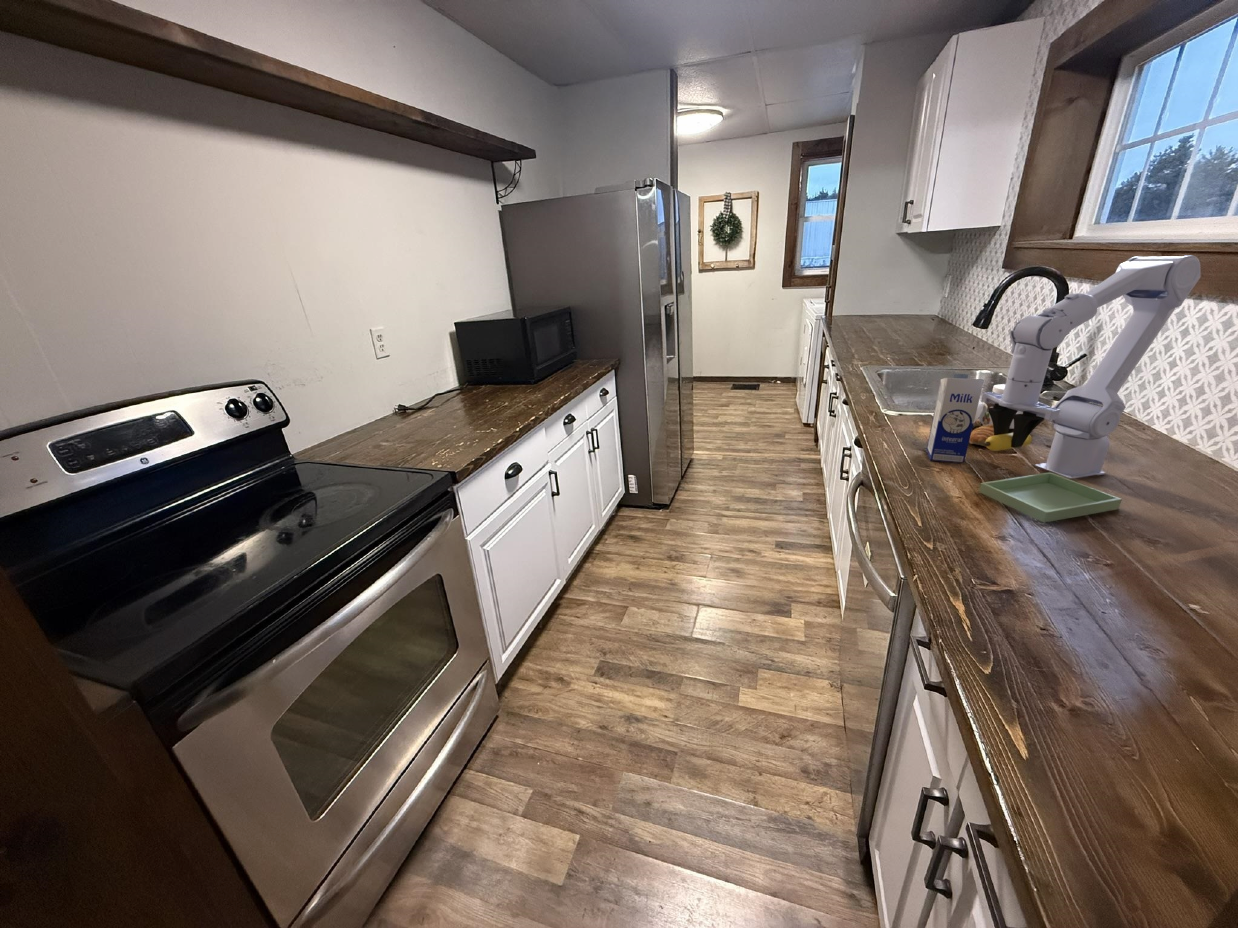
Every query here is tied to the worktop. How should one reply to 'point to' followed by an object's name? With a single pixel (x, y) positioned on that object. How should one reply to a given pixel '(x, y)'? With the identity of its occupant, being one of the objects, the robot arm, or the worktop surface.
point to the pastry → (981, 434)
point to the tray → (1049, 496)
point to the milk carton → (954, 418)
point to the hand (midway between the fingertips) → (1007, 443)
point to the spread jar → (984, 407)
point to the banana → (1003, 442)
